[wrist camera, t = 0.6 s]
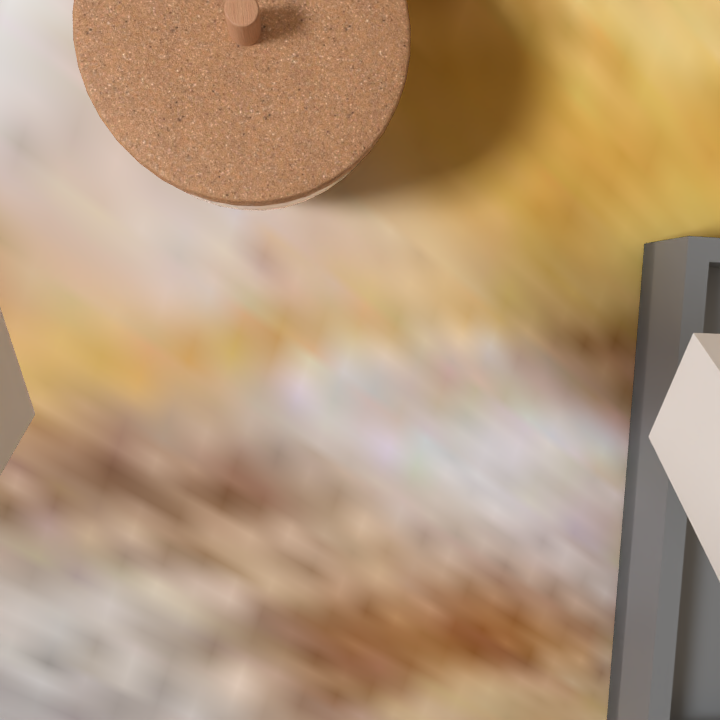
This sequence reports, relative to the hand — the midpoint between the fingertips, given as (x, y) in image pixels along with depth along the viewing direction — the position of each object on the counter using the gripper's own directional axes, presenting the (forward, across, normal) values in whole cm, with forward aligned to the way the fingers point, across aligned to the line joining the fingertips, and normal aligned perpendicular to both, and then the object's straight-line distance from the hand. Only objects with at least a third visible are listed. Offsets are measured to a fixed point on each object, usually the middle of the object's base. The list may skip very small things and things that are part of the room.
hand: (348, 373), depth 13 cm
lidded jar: (+20, +4, +1) cm, 20 cm away
